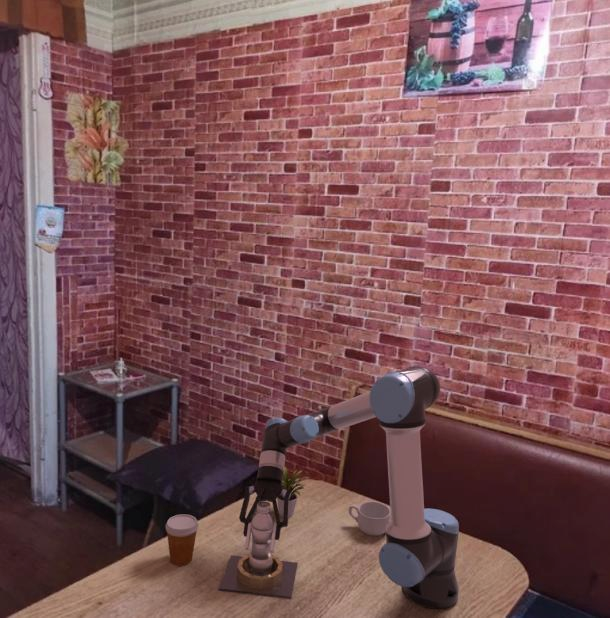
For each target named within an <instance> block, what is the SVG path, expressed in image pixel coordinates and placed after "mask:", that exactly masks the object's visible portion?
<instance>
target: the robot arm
mask: <svg viewBox="0 0 610 618" xmlns="http://www.w3.org/2000/svg"><path fill="white" fill-rule="evenodd" d="M440 394H441V383H440V380H439V377H438V375H436V373H435V372H433V370H432V369H429V368H428V367H425V366H420V365H413V366H409V367H407V368H404V369H399V370H396V371H391V372H388V373H386V374H384V375H383V376H381V377H379V378H378V379H377V380H376V381H375V382H373V384H372V386H371V389H370V391H368V392H364V393H362V394H359V395H357V396H354V397H352V398H348V399H347V400H344V401H340V402H338V403H336V404H333V405H331V406H328V407H325V408H323V409H320V410H316V411H314V412H311V413H308V414H304V415H301V416H297V417H295V418H293V419H290V420H286V419H285V418H281V417H272V418H269V419H267V420H266V423H265V428H264V429H263V437H262V444H261V450H260V451H261V452H260V456H259V463H258V467H259V468H258V469H257V476H256V482H255V483H254V485H251V486H248V485H245V486H244V497H243V502H242V505H241V508H240V513H239V517H238V519H239V521H240V523H242V524H244V525H243V526H244V527H243V532H242V534H243V537H244V538H245V537H246V538H245V545H244V549H245V551H249V549H250V543H251V539H252V530H251V520H252V517H253V516H254V515H255V513H256V512H257V511H256V509H257V504H258V503H259V502H262V501H265V502H269V503H272V507H273V508H272V509H273V515H274V520H275V523H276V525H274V527H273V533H272V540H271V549H270V551H271V553H272V554H273V553H274V552H275V545H276V541H279V540H280V537H281V529H283V528H287V527H288V525H289V524H288V523H289V517H288V507H289V499H290V496H291V491H290V490H285V489H283V488H282V481H283V475H284V466H285V465H286V464H285V462H286V457H287V455H286V454H287V453H286V452H287V449H288V448H292V447H296V446H298V445H301V444H306V443H309V442H311V441H312V440H315V439H317V438H320V437H322V436H324V435H327V434H330V433H333V432H336V431H338V430H339V431H340V430H342V429H344V428H348V427H350V426H353V425H356V424H359V423H361V422H365V421H368V420H371V419H375V418H377V419H378V423H379V427H381V429H382V430H384V432H385V437H386V438H385V440H386V442H385V443H386V457H387V458H386V459H387V473H388V488H389V489H388V491H389V493H388V494H389V509H390V510H391V514H390V521H389V524H388V525H387V526H386V532H385V541H386V543H385V544H383V545H382V546H381V549H380V550H379V553H378V562H379V565H380V569H381V571H383V574H384V575H385V576H387V578H388V580H390V581H391V582H392V583H394V584H395V585H397V586H400V587H402V589H403V592H404V594H405V595H406V597H408V598H409V599H410V600H411V601H412V602H414V603H415V604H416V605H417V604H418V605H420V606H422V607H424V608H429V609H434V610H435V609H438V610H439V609H442V610H443V609H447V608H450V607H452V606H454V605H455V604H456V603H457V601H458V600H459V589H460V588H459V585H458V579H457V576H456V570H455V567H456V566H455V565H456V558H457V549H458V541H459V534H460V531H459V530H460V529H459V528H460V525H459V521H458V520H457V518H456V517H455V516H454V515H452V514H451V513H449V512H447V511H444V510H441V509H436V508H425V504H424V503H425V502H424V500H425V499H424V485H423V483H424V482H423V467H422V465H423V464H422V448H421V433H420V432H421V430H422V429H423V428H424V426H425V425H426V412H425V410H427V409H428V408H431V407H432V406H433V405H434V404H436V402H437V400H438V399H439V398H440ZM254 491H255V494H256V497H255V500H254V502H253V504H252V506H251V508H250V509H249V512H247V511H248V508H249V503H250V499H251V495H252V494H253V492H254ZM281 493H282V494H283V497H284V513H283V516H282V521H281V517H280V515H279V510H278V501H277V497H278V496H279V495H280V494H281ZM246 515H247V516H246Z"/></svg>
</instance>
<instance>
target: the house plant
mask: <svg viewBox="0 0 610 618" xmlns="http://www.w3.org/2000/svg"><path fill="white" fill-rule="evenodd" d="M302 471H303V469H301V470H299V471H298V468H296V470H295V471H293V474H292V475H289V470H288V468H287V467H286V466H285V465H284V470H283V479H282V488H283V489H285V490H290V491H291V496H290V499H289V507H288V518H290V517H293V516H294V514H295V510H296V505H297V500H298V496H299V497H301V493H300V491H299V490H306V486H308V485H306V484H305V485H304V484H302V483H300V482H302V481H307V478H309V476H303V477H301V478H299V476H300V474H301V473H302ZM298 478H299V479H298ZM276 502H277V507H278V512H279V516H281V517H283V513H284V497H283V494H282V493H281V494H280V495H279V496H278V497H277V499H276Z"/></svg>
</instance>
